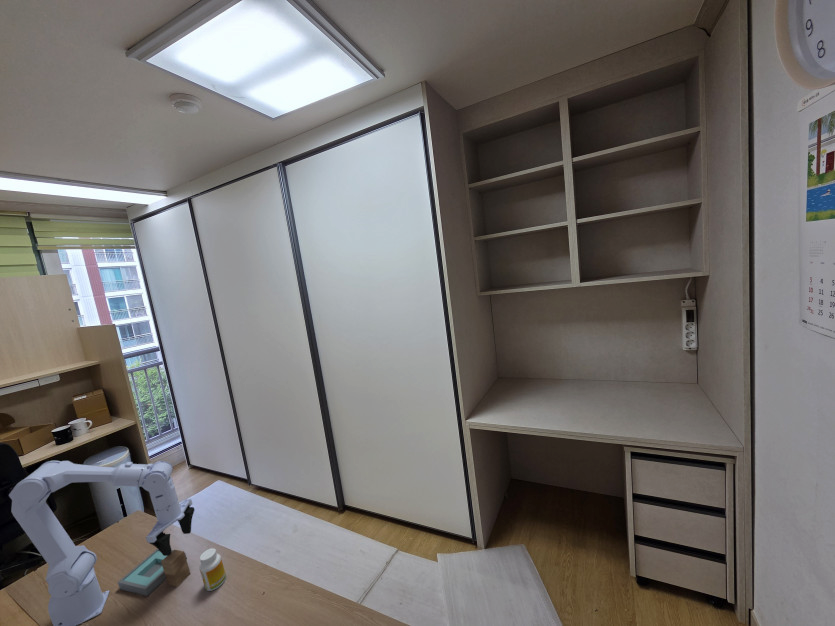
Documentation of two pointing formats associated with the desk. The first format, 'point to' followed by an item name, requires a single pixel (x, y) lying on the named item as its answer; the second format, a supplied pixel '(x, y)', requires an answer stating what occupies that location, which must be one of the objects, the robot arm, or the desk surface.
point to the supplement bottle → (212, 569)
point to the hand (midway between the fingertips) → (177, 543)
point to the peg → (175, 568)
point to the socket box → (145, 575)
